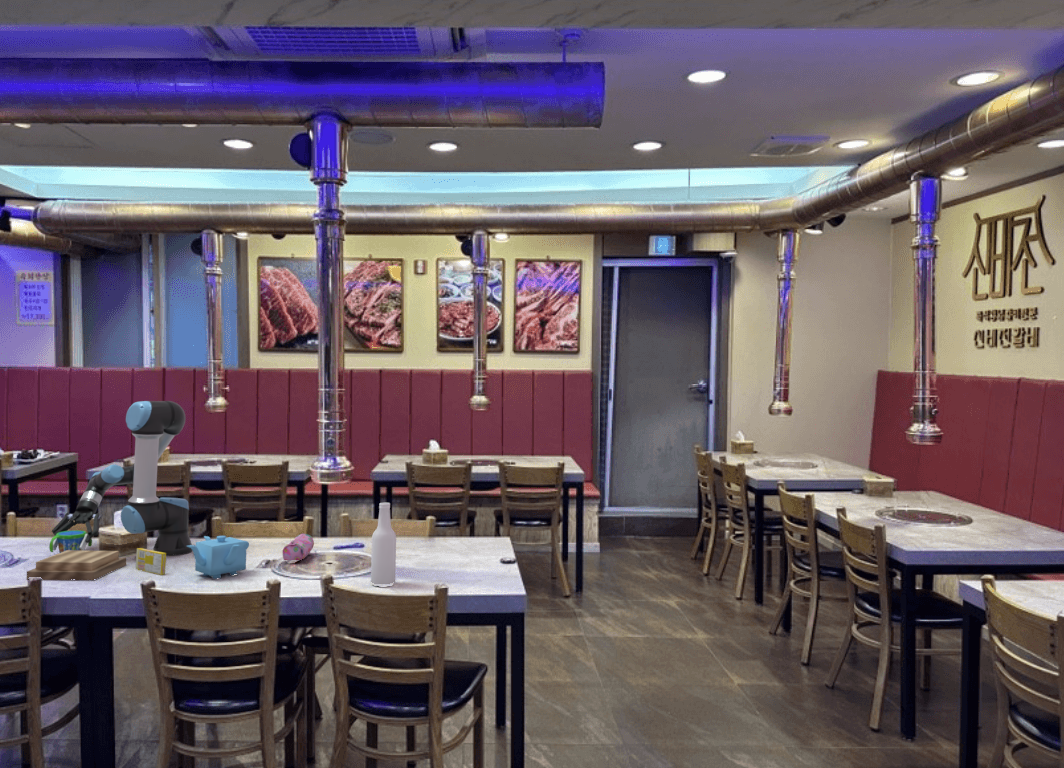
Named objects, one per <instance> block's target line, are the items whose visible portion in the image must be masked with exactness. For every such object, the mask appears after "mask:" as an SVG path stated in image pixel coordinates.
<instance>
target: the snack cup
mask: <svg viewBox="0 0 1064 768" xmlns="http://www.w3.org/2000/svg"><path fill="white" fill-rule="evenodd" d="M85 534H88V532H87V531H85V530H78V529H77V530H76V529H75V530H67V531H63V532H59V533H57V534H56V536H55V535H54V536H52V538H50V539H51V540H50V542H49V545H48V549H49V552H51V553H54V550H53V541H54V540H55V539H56V538H57V541H58V546H57V548H58V552H59V553H61V552H64V551H66V550H81V549H80V545H81V543H82V540H83V538H84V536H85ZM92 544H93V537H92V538H91V540H90V542H89V543H87V545H88V547H91V546H92ZM81 551H82V550H81ZM59 553H58V554H59Z"/></svg>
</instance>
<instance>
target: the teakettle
mask: <svg viewBox="0 0 1064 768" xmlns="http://www.w3.org/2000/svg"><path fill="white" fill-rule="evenodd" d="M203 538H204V540H201V541H196V542H195V544H192V545H189V546H187V547H189V548H191V549H192V552H193V557H194V560H195V562H194V563H195V565H194V567H195V568H194V571H196V572H199V573H201V574H202V576H203V577H204V576H205V577H207V576H208V575H209V576H210V577H212V578H213V579H212V580H218V579H217V578H220V577H221V576H222V575H224V574H228V573H229V575H230V574H231V575H234V574H238V575H239V573H238V572H240V571H244V570H247V550H248V548H249V546H250V542H249V541H247V540H243V539H239V538H235V537H232V536H229V537H228V536H227V535H217V536H216V538H214V539H211V537H210V536H208V535H207V536H206V535H204V536H203ZM231 575H230V576H231ZM220 579H221V578H220Z"/></svg>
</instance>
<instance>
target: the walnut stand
mask: <svg viewBox="0 0 1064 768" xmlns="http://www.w3.org/2000/svg"><path fill="white" fill-rule="evenodd" d="M119 555H120V551H119V550H84V551H81V550H66V551H64V552H61V553H57V554H54V555H51V556H48V557H46V558H44V559H41V560H40V559H39V560H38V561H36V562H35V568H33V569H30V570H27V571H26V580H27V579H28V578H29V577H41V578H42V579H43V580H42V581H89V580H94V579H96V580H98V579H100V578H102V577H104V576H106V575H105V574H107V573H109V572H111V571H113V572H114V570H115V571H117V570H119V569H121V568H124V567H125V566H127V557H122V556H121V557H120V556H119ZM120 567H121V568H120ZM118 568H119V569H118ZM116 569H117V570H116ZM111 573H112V572H111ZM109 574H110V573H109ZM103 575H104V576H103ZM107 575H108V574H107ZM101 576H102V577H101ZM99 577H100V578H99ZM97 578H98V579H97ZM71 579H72V580H71ZM73 579H75V580H73ZM94 581H95V580H94Z"/></svg>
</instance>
